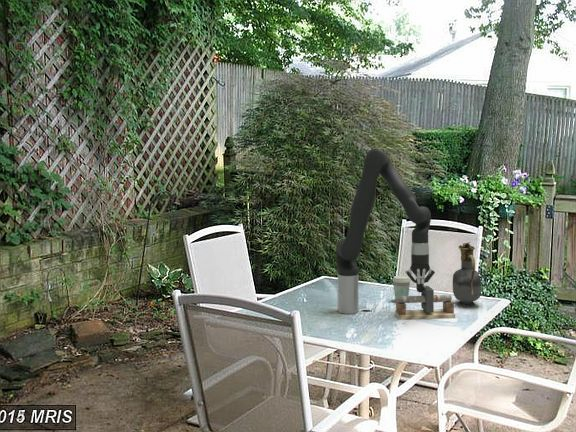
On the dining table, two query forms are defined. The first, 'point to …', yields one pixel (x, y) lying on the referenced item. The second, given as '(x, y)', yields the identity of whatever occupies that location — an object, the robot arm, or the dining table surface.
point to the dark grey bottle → (467, 278)
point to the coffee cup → (401, 286)
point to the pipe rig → (421, 314)
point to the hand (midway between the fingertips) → (420, 292)
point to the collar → (428, 299)
